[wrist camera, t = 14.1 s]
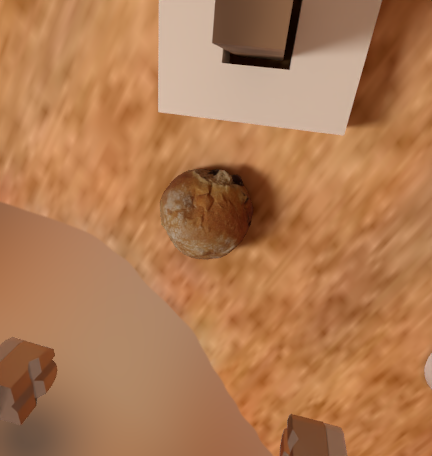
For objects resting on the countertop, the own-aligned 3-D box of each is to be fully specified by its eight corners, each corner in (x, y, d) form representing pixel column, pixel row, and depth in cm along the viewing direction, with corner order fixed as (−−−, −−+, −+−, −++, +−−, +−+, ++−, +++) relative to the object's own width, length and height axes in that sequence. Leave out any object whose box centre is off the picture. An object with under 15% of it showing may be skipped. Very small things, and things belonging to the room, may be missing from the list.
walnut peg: (292, 5, 25) (301, -48, 14) (282, 60, 27) (284, 49, 16) (244, 2, 25) (219, -52, 15) (238, 56, 27) (212, 43, 17)
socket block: (389, -72, 22) (410, -100, 18) (336, 128, 28) (344, 135, 25) (177, -81, 24) (159, -109, 20) (172, 108, 30) (158, 111, 27)
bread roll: (171, 178, 38) (127, 214, 33) (225, 140, 30) (178, 180, 25) (218, 238, 40) (184, 280, 35) (278, 217, 33) (245, 268, 28)
